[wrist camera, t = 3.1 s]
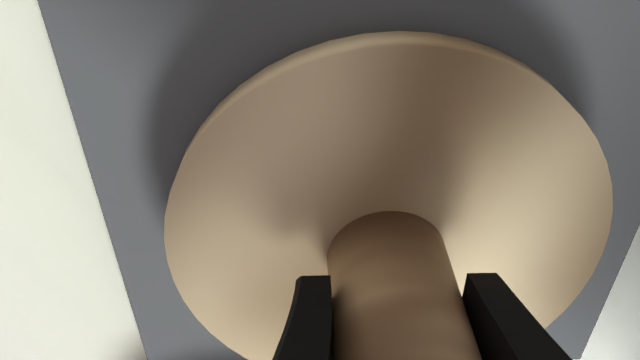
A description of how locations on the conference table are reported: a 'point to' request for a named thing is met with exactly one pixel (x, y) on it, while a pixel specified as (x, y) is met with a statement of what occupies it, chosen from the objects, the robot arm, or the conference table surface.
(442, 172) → the lid
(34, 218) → the conference table surface
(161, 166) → the mat
